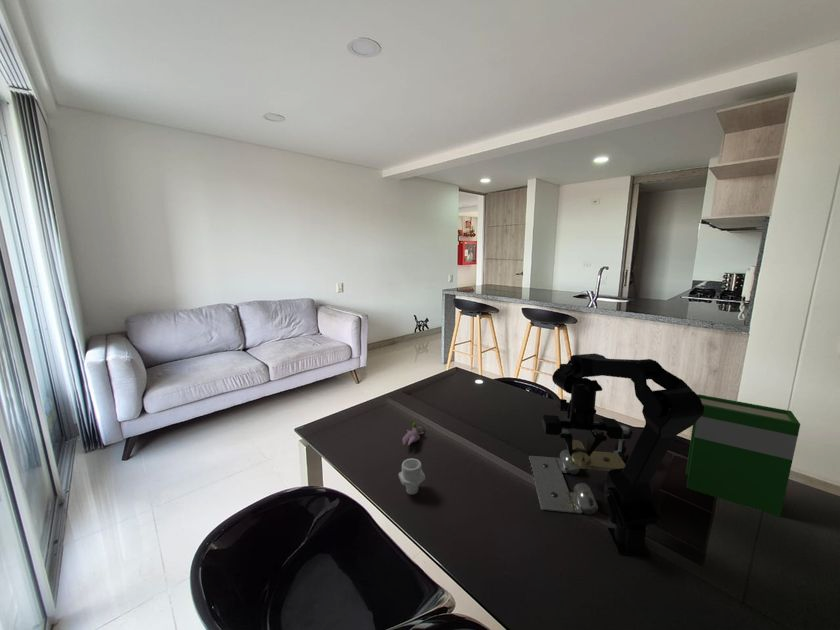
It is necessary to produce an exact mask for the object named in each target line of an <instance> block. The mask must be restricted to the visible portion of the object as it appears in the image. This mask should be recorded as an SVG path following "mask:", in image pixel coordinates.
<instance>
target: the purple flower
mask: <svg viewBox="0 0 840 630" xmlns="http://www.w3.org/2000/svg"><path fill="white" fill-rule="evenodd" d="M411 427H412V428H411V430H409V429H407V430H406V432H407V433H405V435H404V436H403V437H402V445H406V444H407V446H410V445H411V444H412V443H414V442H415V443H416V442H417V441H419V440H420V439H421V437H420V435H423V434H424V433H425V432H424V431H423V429H424V427H423V425H421V426H419V425H417V423H416V421H415V422H413V423H412V426H411ZM407 442H408V443H407Z"/></svg>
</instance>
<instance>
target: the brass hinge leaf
mask: <svg viewBox="0 0 840 630" xmlns="http://www.w3.org/2000/svg"><path fill="white" fill-rule="evenodd" d="M571 456H572V459H573V461H574V463H575V465H576V466H577V467H578V468H580V469H582V470H584V469H588V470H593V471H603V472H609V471H610V470H612V469H620V468H624V467H625V465H626V463H625V462H624V459H621V457H620V456H619V454H618V453H614V452H608V451H596V450H594V451H593V452H592V454H591V455H590V456H588V454H587V452H586V447H584V445H583V443H582V441H580V440H578V439H573V442H572V455H571Z"/></svg>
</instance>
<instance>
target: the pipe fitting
mask: <svg viewBox="0 0 840 630" xmlns="http://www.w3.org/2000/svg"><path fill="white" fill-rule="evenodd" d="M398 478H399V480H400V483H401V484H402V486H405V490H406V493H407V494H409V495H416V494H417V493H418V492H419V485H421V483H423V482H424V481H425V480H426V474H425V473H424V471H423V470H422V463H421V461H420V460H419V459H417V458H413V457H412V458H407V459H404V460H403V461H402V464H401V471H400V472H398Z"/></svg>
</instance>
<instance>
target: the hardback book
mask: <svg viewBox="0 0 840 630" xmlns="http://www.w3.org/2000/svg"><path fill="white" fill-rule="evenodd" d="M696 394H697V395H698V396H699V398H700V399H701V401H702V405H703V406H704V412H703V415H702V416H701V417H700V418H699V419H698V420H697V421H696V422H695V423H694V424H693V425H692V426H691V427H692V428H691V434H690V442H689V448H688V455H687V456H688V457H687V462H686V468H685V476H687V481H686V489H688V488H689V489H688V490H692V491H695V492H698V493H701V494H704V495H707V494H708V495H707V496H711V497H714V498H718V499H720V498H721V500H724V499H725V500H724V501H727V500H728V501H727V502H730V501H731V503H733V502H734V503H733V504H737V505H740V504H741V506H743V505H744V507H746V506H749V507H748V508H750V507H752V508H751V509H753V508H755V509H754V510H756V509H759V510H758V511H760V510H761V511H760V512H763V511H765V512H764V513H766V512H768V513H767V514H769V513H771V514H770V515H773V514H774V515H773V516H776V515H778V516H777V517H779V516H780V517H781V515H782V510H783V506H784V501H785V496H786V493H787V492H786V491H787V489H788V483H789V478H790V474H791V470H792V464H793V460H794V456H795V455H794V454H795V451H796V446H797V441H798V437H799V434H800V433H799V432H800V428H801V422H799V420H798V419H797V417H796V416H795V414H794V413H793V411H792V410H788V409H781V408H776V407H771V406H767V405H766V406H764V405H761V404H753V403H748V402H743V401H738V400H733V399H728V398H727V399H726V398H721V397H717V396H716V397H715V396H709V395H704V394H698V393H696Z"/></svg>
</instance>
